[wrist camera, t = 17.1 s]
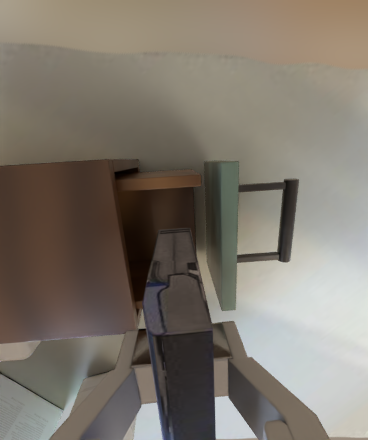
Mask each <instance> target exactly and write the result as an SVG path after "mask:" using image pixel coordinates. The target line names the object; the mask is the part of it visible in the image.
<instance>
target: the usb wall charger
mask: <svg viewBox="0 0 368 440" xmlns="http://www.w3.org/2000/svg"><path fill="white" fill-rule="evenodd" d="M40 342H41V341H32V342H19V343H7V344H0V361H13V360H23V359H26V358H28V357H29V356H30V355H31V354H32V353H33V352H34V350H35V349H36V348H37V346H38V345H39V343H40Z"/></svg>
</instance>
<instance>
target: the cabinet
mask: <svg viewBox="0 0 368 440" xmlns="http://www.w3.org/2000/svg"><path fill="white" fill-rule="evenodd" d="M137 172H140V168H139V160H138V159H104V160H88V161H72V162H56V163H40V164H24V165H8V166H0V344H7V343H19V342H32V341H44V340H56V339H68V338H80V337H93V336H105V335H117V334H125V333H126V331H127V330H138V324H139V321H140V316H141V312H142V309H136V306H135V300H134V294H133V287H132V281H131V275H130V269H129V262H128V256H127V250H126V244H125V237H124V231H123V225H122V219H121V212H120V206H119V200H118V194H117V188H116V181H115V175H114V174H121V173H137Z"/></svg>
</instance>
